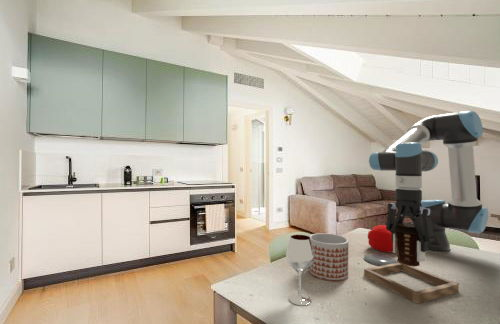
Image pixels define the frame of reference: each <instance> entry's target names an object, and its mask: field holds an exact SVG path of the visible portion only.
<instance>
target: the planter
mask: <svg viewBox="0 0 500 324" xmlns="http://www.w3.org/2000/svg"><path fill="white" fill-rule="evenodd" d="M308 236H309V237H310V238H311V242H312V246H313V250H314V255H315V260H314V263H313V265H312V266H311V267H310V268H309V269H308V272H309V273H310V274H311V275H312V276H313V277H314V278H317V279H320V280H324V281H329V282H340V281H344V280H346V279H347V278H348V277H349V238H347V237H345V236H343V235H339V234H335V233H326V232H325V233H324V232H318V233H312V234H310V235H308Z"/></svg>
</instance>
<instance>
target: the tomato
mask: <svg viewBox="0 0 500 324" xmlns="http://www.w3.org/2000/svg"><path fill="white" fill-rule="evenodd" d="M386 225H387V224H386ZM386 225H385V224H379V225H376V226H373V227H372V229H371V230H368V233H367V239H368V245H369V246H370V247H371V248H372V249H374V250H377V251H379V252H383V253H393V242H392V240H391V238H392V237H391V232H390V231H389V230H387V229H386Z"/></svg>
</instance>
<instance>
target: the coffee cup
mask: <svg viewBox="0 0 500 324" xmlns="http://www.w3.org/2000/svg"><path fill="white" fill-rule="evenodd" d="M415 228H416V227H415V226H414V224H413V222H412V223H411V222H404V221H403V222H402V223H396V226H395V227H394V228H393V230H394V231H395V241H396V251H397V253H396V257H397V261H398V263H400V264H402V265H406V266H413V267H415V268H416V267H419V266H420V263H421V262H418V261H417V241H418V240H419V237H418V232H417V230H416V229H415Z"/></svg>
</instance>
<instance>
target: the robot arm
mask: <svg viewBox="0 0 500 324" xmlns="http://www.w3.org/2000/svg"><path fill="white" fill-rule="evenodd" d="M483 130H484V129H483V122H482V120H481V117H480V115H479V114H478V113H477V112H476V111H474V110H465V111H457V112H452V113H451V112H450V113H443V114H438V115H431V116H427V117H426V118H423V119H420V120H419V121H417V122H416V123H414V124H413V125H411V126H410V127H409V128H408V129H407V130H406V133H404V134H403V135H402V136H401V137H399V139H397V140H395V141H394V142H393V143H391V144H390V145H389V146H387V147H386V148H385V149H384V150H383V151H376V152H372V153H371V154H370V155H369V158H368V164H369V167H370V168H371V169H372V170H374V171H382V172H384V171H386V172H388V171H389V172H390V171H393V172H394V171H395V187H396V189H395V192H394V194H395V195H394V197H395V198H394V199H396V202H395V203H394V202H391V203H387V208H388V212H387V219H386V229H387V230H389V231H390V232H391V237H392V238H391V240H392V242H393V252H392V253H393V254H397V251H396V241H395V231H394V230H393V228H394V227H395V226H396V223H402V222H404V220H405V218H406V217H408V218H410V220H411V221H412V223H413V224H414V226H415V227H416V228H415V229H416V230H417V232H418V237H419V240H418V241H417V261H418V262H420V263H421V262H425V261H426V252H428V250H429V251H430V250H431V251H437V252H447V251H450V250H451V245H450V242H449V239H448V237H447V233H446V229H452V230H455V231H456V230H457V231H462V232H467V233H473V234H474V233H475V234H481V233H483V232H484V231H485V229H486V228H487V227H486V226H487V225H488V219H489V209H488V207H485V206H483V202H482V201H481V200H479V199H478V196H477V195H478V194H477V181H476V169H475V168H476V167H475V154H474V145H475V144H476V143H477V142H478V139H479V138H481V137H482V136H483V133H484V132H483ZM430 141H442V144H443V145H444V146H445V147H446V148H447V155H448V163H449V164H448V165H449V167H448V168H449V177H450V189H451V190H450V191H451V198H450V199H448V201H447V203H446V200H444V199H423V191H422V190H421V189H422V188H423V178H422V177H423V175H422V174H423V173H422V172H429V171H433V170H434V169H435V168H436V167H437V166H438V165H439V159H438V156H437V155H436V153H434V152H433V151H430V150H428V149H427V150H423V149H422V148H423V147H422V145H423V144H426V143H427V142H430Z"/></svg>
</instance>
